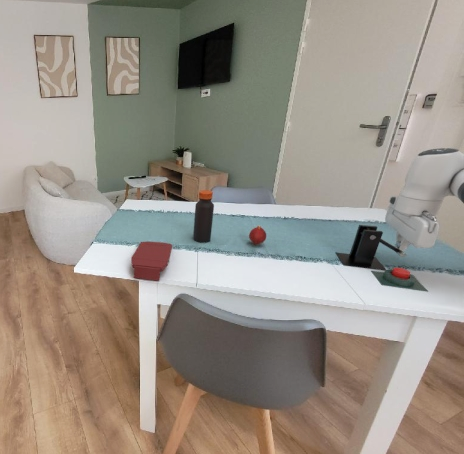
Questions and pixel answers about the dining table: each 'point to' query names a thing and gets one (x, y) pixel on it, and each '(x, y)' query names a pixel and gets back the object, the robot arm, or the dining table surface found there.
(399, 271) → the button
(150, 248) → the red lidded container
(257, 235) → the onion
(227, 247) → the dining table surface
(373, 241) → the switch bracket
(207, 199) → the vinegar
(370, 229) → the switch lever
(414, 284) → the button panel
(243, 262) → the dining table surface
